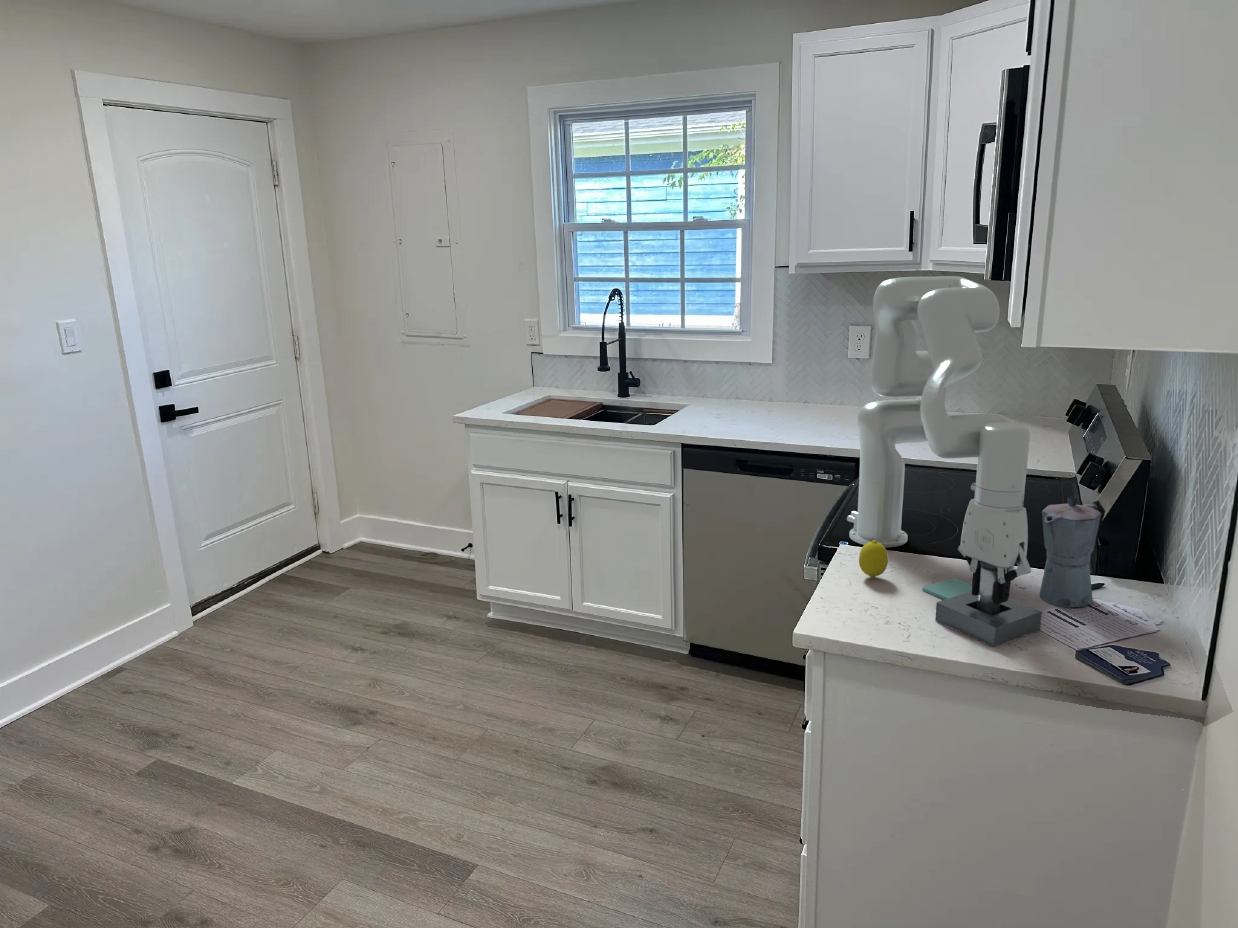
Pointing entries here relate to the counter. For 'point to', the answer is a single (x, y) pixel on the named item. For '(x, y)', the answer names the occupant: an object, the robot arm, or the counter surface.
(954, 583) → the pad
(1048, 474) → the counter surface
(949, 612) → the socket block
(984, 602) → the clear capped vial
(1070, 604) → the moka pot
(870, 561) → the lemon
